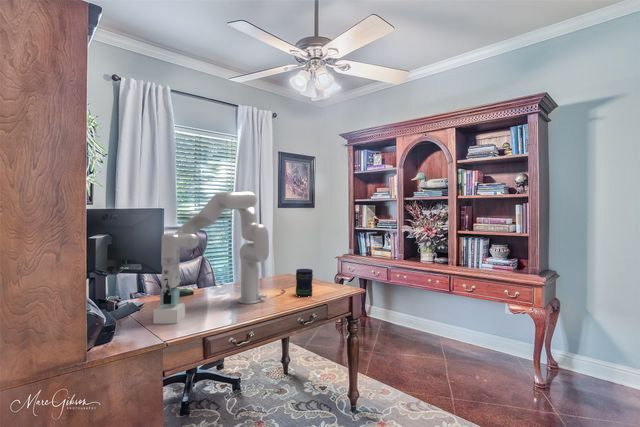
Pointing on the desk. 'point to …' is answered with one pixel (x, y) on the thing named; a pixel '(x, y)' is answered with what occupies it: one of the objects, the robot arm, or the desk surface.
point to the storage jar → (304, 282)
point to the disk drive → (185, 292)
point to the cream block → (169, 314)
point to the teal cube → (173, 294)
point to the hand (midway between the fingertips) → (170, 301)
